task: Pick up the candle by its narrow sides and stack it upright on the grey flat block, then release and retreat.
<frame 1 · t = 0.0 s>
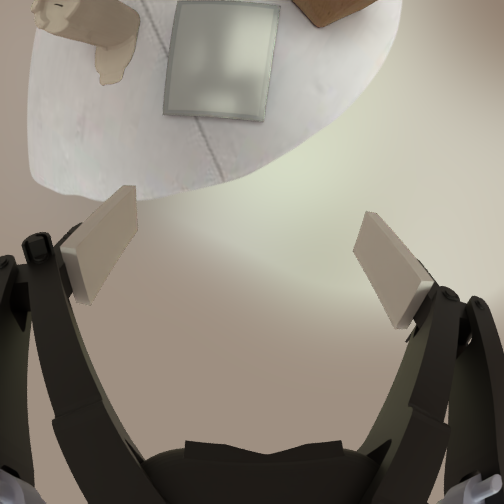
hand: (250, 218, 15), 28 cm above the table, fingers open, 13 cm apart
grey flat block: (221, 58, 32), on the table
candle: (116, 45, 29), on the table
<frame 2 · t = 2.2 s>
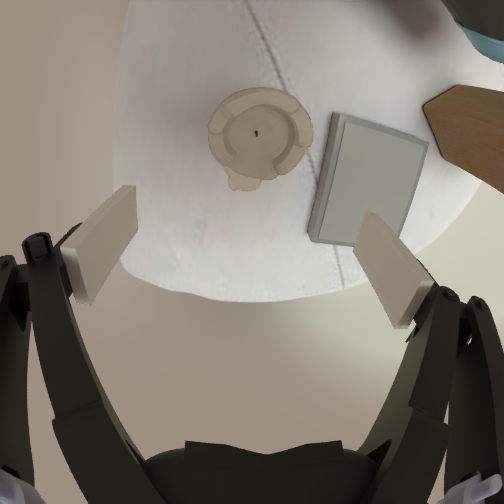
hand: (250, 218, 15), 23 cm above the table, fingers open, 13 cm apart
grey flat block: (365, 183, 37), on the table
wooden block: (450, 120, 31), on the table
candle: (250, 142, 34), on the table
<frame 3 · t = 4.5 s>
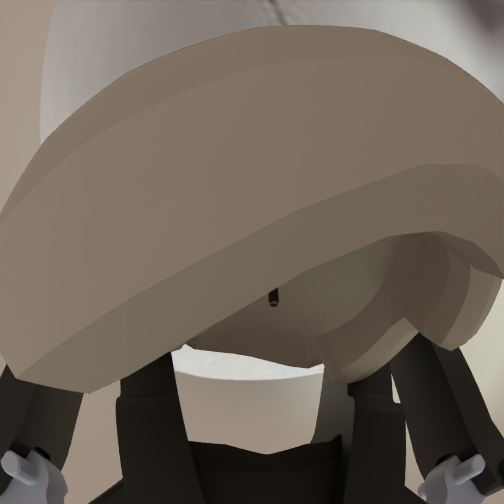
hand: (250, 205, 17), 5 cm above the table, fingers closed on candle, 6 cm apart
candle: (249, 179, 21), on the table, touching gripper
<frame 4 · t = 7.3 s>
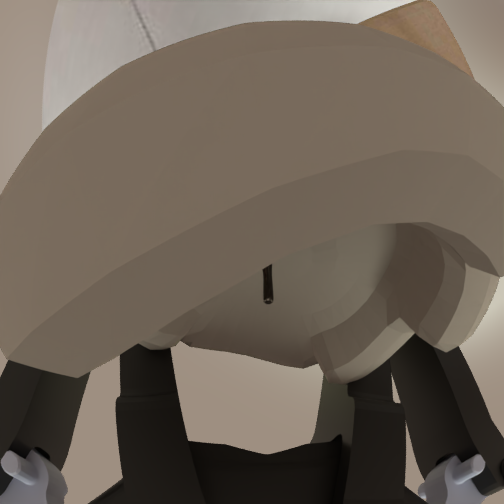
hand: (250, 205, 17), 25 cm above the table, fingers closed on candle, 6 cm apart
wooden block: (349, 68, 31), on the table
candle: (249, 180, 21), point 20 cm above the table, touching gripper
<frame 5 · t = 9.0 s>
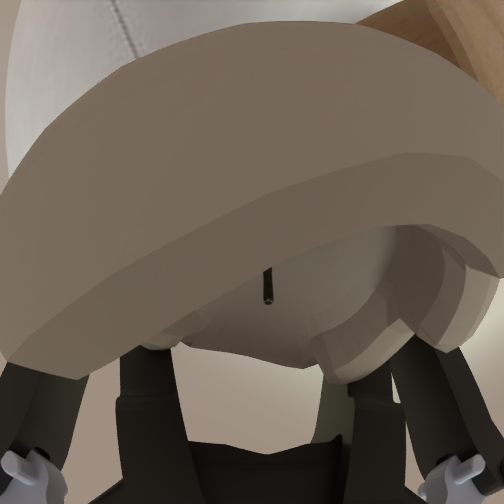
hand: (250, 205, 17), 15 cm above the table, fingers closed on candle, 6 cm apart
wooden block: (378, 61, 23), on the table
candle: (249, 180, 21), point 10 cm above the table, touching gripper
when the fingers open (9 cm above the table, at t = 10.5 s): candle stays where it is, resting on grey flat block.
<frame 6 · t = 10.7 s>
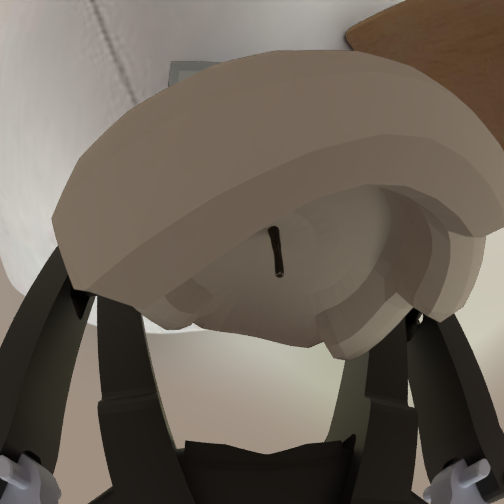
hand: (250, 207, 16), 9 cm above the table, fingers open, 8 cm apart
grey flat block: (249, 167, 24), on the table
wooden block: (404, 59, 18), on the table
candle: (250, 177, 21), point 3 cm above the table, touching grey flat block
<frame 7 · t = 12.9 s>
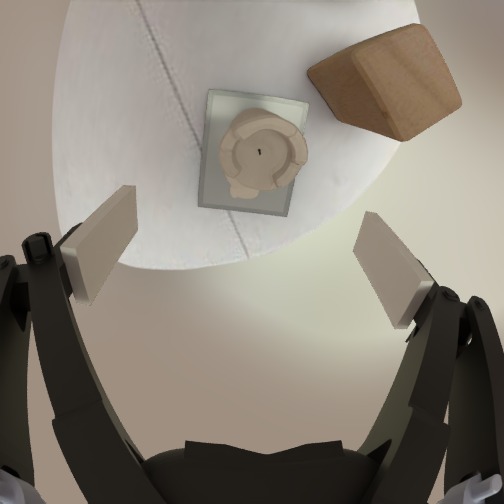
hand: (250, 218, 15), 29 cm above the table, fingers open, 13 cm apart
grey flat block: (250, 151, 41), on the table
wooden block: (346, 83, 35), on the table
candle: (251, 154, 38), point 3 cm above the table, touching grey flat block
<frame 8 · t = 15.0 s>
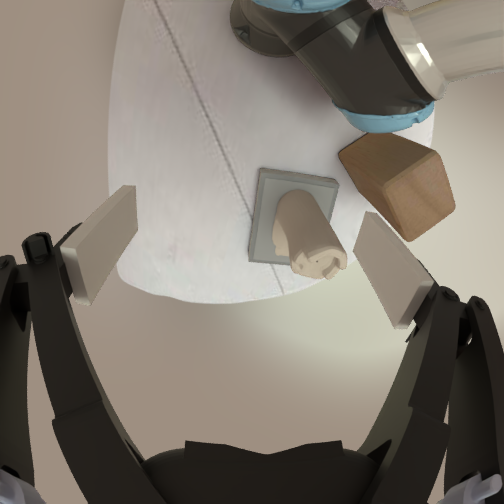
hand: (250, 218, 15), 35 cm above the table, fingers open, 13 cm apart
grey flat block: (290, 217, 53), on the table
wooden block: (368, 160, 47), on the table
candle: (292, 224, 50), point 3 cm above the table, touching grey flat block
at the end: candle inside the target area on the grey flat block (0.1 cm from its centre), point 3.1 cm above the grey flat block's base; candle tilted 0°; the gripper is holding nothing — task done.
